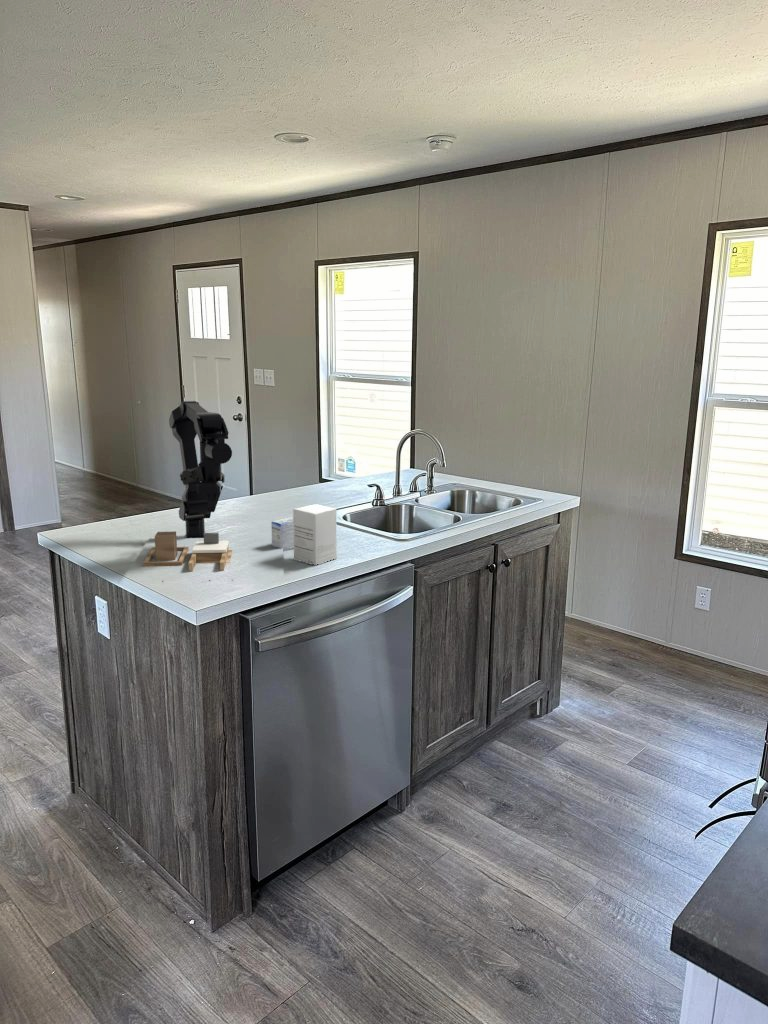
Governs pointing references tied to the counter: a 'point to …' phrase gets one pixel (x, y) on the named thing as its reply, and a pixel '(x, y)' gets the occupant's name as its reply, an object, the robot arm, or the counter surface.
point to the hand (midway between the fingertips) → (212, 511)
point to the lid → (210, 544)
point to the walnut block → (166, 545)
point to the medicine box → (283, 533)
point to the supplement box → (315, 534)
